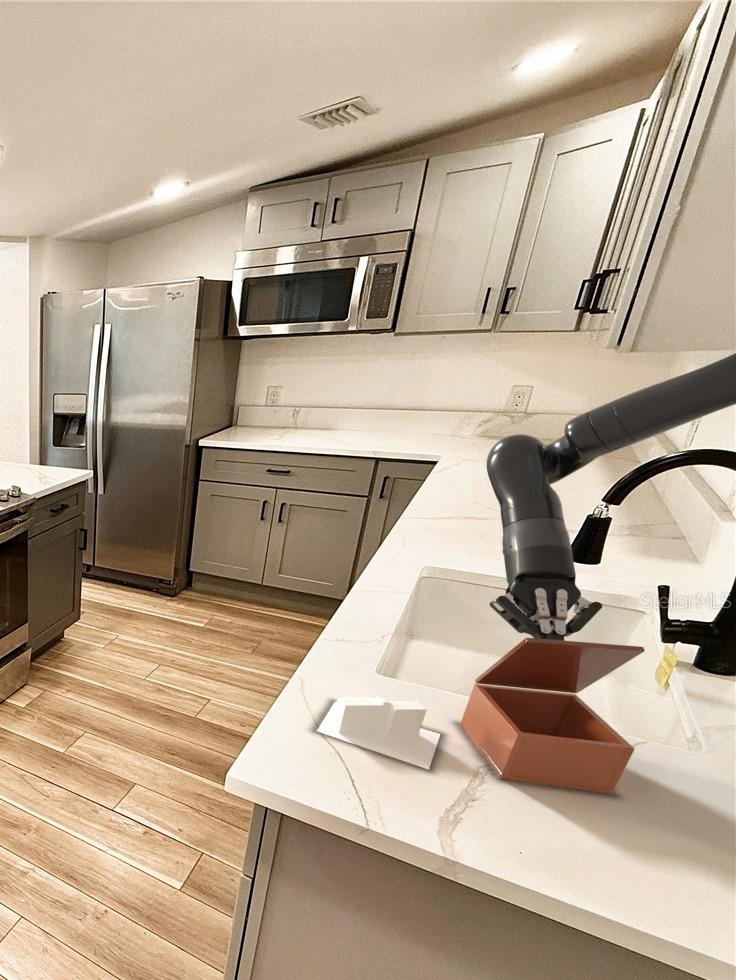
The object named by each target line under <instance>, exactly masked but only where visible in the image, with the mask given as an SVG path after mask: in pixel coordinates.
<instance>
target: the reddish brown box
mask: <svg viewBox="0 0 736 980" xmlns="http://www.w3.org/2000/svg"><path fill="white" fill-rule="evenodd" d="M459 725H460V726H461V727H462V729H463V730H464V731H465V733H466V734H467V737H469V738H470V740H471V741H472V743H473V744H474V745H475V747H476V748H477V749H478V751H479V752H480V754H481V755H482V756H483V757H484V759H485V760H486V761H487V763H488V765H489V766H490V767H491V768H492V770H493V771H494V773H495V774H496V775H497V776H498V778H499V780H507V781H514V782H522V783H528V784H536V785H544V786H551V787H558V788H566V789H574V790H580V791H587V792H594V793H601V794H607V795H608V794H609V795H612V794H613V793H614V790H615V788H616V786H617V785H618V783H619V781H620V779H621V777H622V775H623V773H624V771H625V769H626V767H627V765H628V763H629V761H630V760H631V757H632V755H633V754H634V752H635V748H634V746H633V745H632V744H631V743H629V742H628V741H627V740H626V739H625V738H624V737H623V736H621V734H620V733H618V732H617V731H616V730H615V729H614V728H613V727H612V726H611V725H610V724H608V723H607V721H606V720H604V719H603V718H602V717H601V716H600V715H599V714H597V713H596V712H595V710H593V709H592V708H591V707H590V706H589V705H588V704H587V703H585V701H584V700H583V699H581V698H580V697H579V696H578V695H577V693H566V692H556V691H546V690H536V689H526V688H516V687H506V686H496V685H486V684H476V683H474V684H473V687H472V689H471V693H470V695H469V699H468V701H467V704H466V707H465V710H464V712H463V715H462V718H461V721H460V724H459Z"/></svg>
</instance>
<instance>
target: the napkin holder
mask: <svg viewBox="0 0 736 980" xmlns="http://www.w3.org/2000/svg"><path fill="white" fill-rule="evenodd" d="M427 711H428V710H427V708H426V707H425V706H424V705H423V704H421V703H420V702H419V701H418V700H388V698H384V697H383V696H339V697H337V699H336V701H334V702H333V704H332V705H331V707H330V709H329V711H328V712H327V714H326V715H325V717H324V719H323V720H322V722H321V723H320V725H319V727H318V728H317V729H316V732H318V733H321V734H323V735H326V736H329V737H332V738H335V739H338V740H341V741H344V742H347V743H350V744H353V745H356V746H359V747H362V748H364V749H367V750H369V751H370V750H371V751H373V752H376V753H380V754H382V755H385V756H388V757H391V758H394V759H396V760H399V761H402V762H406V763H408V764H411V765H414V766H418V767H420V768H422V769H425V770H430V766H431V764H432V761H433V758H434V755H435V752H436V749H437V746H438V743H439V741H440V737H441V733H438V732H434V731H432V730H428V729H425V728H423V727H422V726H423V722H424V719H425V716H426V713H427Z"/></svg>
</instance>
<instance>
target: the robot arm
mask: <svg viewBox="0 0 736 980" xmlns="http://www.w3.org/2000/svg"><path fill="white" fill-rule="evenodd" d="M735 405H736V352H735V353H733V354H730V355H728V356H726V357H723V358H722V359H721V358H720V359H719V360H717V361H714V362H712V363H709V364H707V365H705V366H702V367H700V368H697V369H694V370H692V371H689V372H686V373H683V374H680V375H678V376H674V377H672V378H669V379H666V380H663V381H660V382H658V383H655V384H652V385H649V386H647V387H646V386H645V387H643V388H641V389H639V390H636V391H633V392H631V393H628V394H625V395H624V396H620V397H619V398H616V399H614V400H612V401H610V402H606V403H605V404H602V405H600V406H598V407H596V408H593V409H590V410H589V411H586V412H583V413H581V414H579V415H577V416H574V417H573V418H571V419H570V420H568V422H567V423H566V424H565V425H564V429H563V430H564V431H563V433H564V435H563V436H561V437H560V438H558V439H557V440H555V441H553V442H551V443H549V444H545V443H544V442H543V441H541V440H540V439H539V438H538V437H537V438H536V437H535V436H533V435H529V434H525V433H523V434H521V433H519V434H518V433H517V434H511V435H508V436H506V437H503V438H502V439H500V440H498V441H497V442H496V443H495V444H494V445H493V446H492V447H491V448H490V450H489V453H488V455H487V458H486V471H487V476H488V479H489V482H490V485H491V487H492V490H493V493H494V495H495V497H496V500H497V502H498V505H499V509H500V518H501V519H500V520H501V527H502V541H501V543H502V544H501V545H502V555H503V561H504V570H505V575H506V576H505V578H506V583H507V585H508V586H507V588H506V589H505V594H504V595H499V596H498V597H496V598H495V599H492V600H491V601H490V602H489V607H490V608H491V609H492V610H493V611H495V612H496V614H498V615H499V616H500V617H501V618H502V619H503V620H504V621H505V622H507V623H508V625H510V626H511V627H512V628H513V629H514V630H515V631H516V632H517V633H519V634H527V635H530V636H531V638H537V639H550V640H563V641H565V638H567V637H570V636H572V635H574V634H576V633H578V632H580V631H581V630H582V629H583V628H584V627H585V626H586V625H587V624H588V623H589V622H590V621H591V620H592V619H593V618H594V617H595V616H596V615H597V614H598V613H599V612H600V611H601V610H602V609H603V604H602V603H601V602H600V601H593V602H592V601H590V600H588V599H587V598H584V597H583V596H582V592H581V590H580V589H579V588H578V586H577V584H576V577H577V576H576V575H577V573H576V570H575V568H576V567H575V562H574V556H573V549H572V545H571V544H572V543H571V539H570V534H569V531H568V529H567V527H566V523H565V517H564V511H563V504H562V501H561V499H560V496H559V494H558V493H557V492H556V491H555V489H554V488H553V487H552V485H553V484H555V483H557V482H559V481H561V480H564V479H565V478H567V477H569V476H570V475H572V474H574V473H576V472H577V471H578V470H580V469H582V468H584V467H586V466H588V465H589V464H591V463H592V462H594V461H595V460H597V459H598V458H600V457H603V456H606V455H609V454H611V453H613V452H616V451H619V450H622V449H625V448H626V447H630V446H632V445H635V444H638V443H640V442H643V441H646V440H648V439H651V438H653V437H655V436H658V435H661V434H663V433H665V432H668V431H670V430H673V429H676V428H678V427H680V426H683V425H685V424H688V423H690V422H693V421H695V420H698V419H701V418H702V417H705V416H708V415H711V414H713V413H716V412H718V411H721V410H724V409H726V408H730V407H732V406H735ZM571 608H573V613H574V614H575V615H573V616H572V617H571V618H570V619H569V620H568V612H569V611H570V610H571ZM567 620H568V622H566V621H567Z"/></svg>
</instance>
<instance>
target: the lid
mask: <svg viewBox="0 0 736 980" xmlns="http://www.w3.org/2000/svg"><path fill="white" fill-rule="evenodd" d="M645 651H646V650H645V647H644V646H637V645H626V644H625V645H624V644H614V643H613V644H612V643H601V642H600V643H599V642H587V641H575V640H574V641H573V640H564V641H563V640H550V639H537V638H533V637H525V638H524V639H523V640H521V641H520V642H519V643H518V644H517V645H515V646H514V647H513V648H511V649H510V650H509V651H508V652H507V653H506V654H505V655H503V656H502V657H501V658H499V659H498V660H496V662H495V663H493V664H492V665H491V666H490V667H489V668H488V669H486V670H485V671H484V672H482V674H480V675H479V676H478V677H477V678H475V679H474V682H475V684H480V685H489V686H499V687H509V688H519V689H530V690H540V691H550V692H560V693H568V694H569V693H570V694H579V693H580V692H582V691H583V690H585V689H586V688H588V687H590V686H591V685H593V684H594V683H596V682H598V681H599V680H601V679H602V678H604V677H606V676H607V675H609V674H611V673H613V672H614V671H615V670H617V669H619V668H620V667H622V666H624V665H625V664H626V663H628V662H630V661H632V660H634V659H635V658H636V657H639V655H641V654H643V653H645Z"/></svg>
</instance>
